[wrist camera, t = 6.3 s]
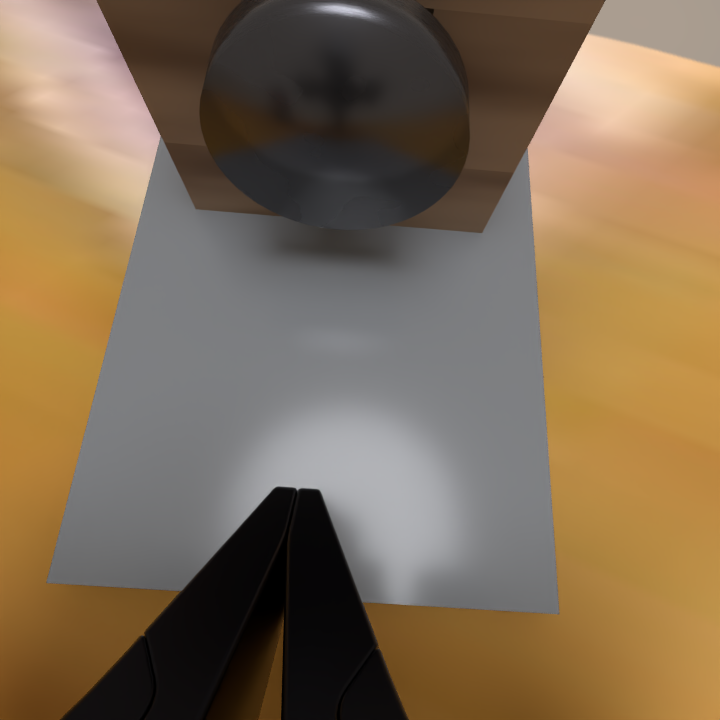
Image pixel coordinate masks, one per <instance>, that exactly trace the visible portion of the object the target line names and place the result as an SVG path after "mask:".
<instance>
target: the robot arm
mask: <svg viewBox="0 0 720 720" xmlns="http://www.w3.org/2000/svg"><path fill="white" fill-rule="evenodd" d="M283 619H284V634H283V670H282V706H281V720H409V719H408V717H407V715H406V712H405V710H404V708H403V706H402V703H401V701H400V698H399V696H398V693H397V691H396V689H395V686H394V684H393V681H392V679H391V676H390V674H389V671H388V669H387V666H386V663H385V661H384V658H383V655H382V653H381V650H380V649H378V643H377V640H376V637H375V635H374V632H373V629H372V627H371V624H370V621H369V619H368V616H367V613H366V611H365V608H364V605H363V603H362V600H361V597H360V595H359V592H358V589H357V587H356V584H355V581H354V579H353V576H352V573H351V571H350V568H349V565H348V563H347V560H346V557H345V555H344V552H343V549H342V547H341V544H340V541H339V539H338V536H337V533H336V531H335V528H334V525H333V523H332V520H331V517H330V515H329V512H328V509H327V507H326V504H325V501H324V499H323V496H322V493H321V491H320V490H319V489H311V488H300V489H299V490H298V491H297V489H296V488H294V487H281V486H278V487H275V488H274V489H273V490H272V491H271V492H270V493H269V494H268V495H267V497H266V498H265V499H264V500H263V501H262V502H261V503H260V504H259V505H258V507H257V508H256V509H255V510H254V511H253V512H252V513H251V514H250V515H249V517H248V518H247V519H246V520H245V521H244V522H243V523H242V524H241V525H240V526H239V528H238V529H237V530H236V531H235V532H234V533H233V534H232V535H231V536H230V538H229V539H228V540H227V541H226V542H225V543H224V544H223V545H222V546H221V548H220V549H219V550H218V551H217V552H216V553H215V554H214V555H213V556H212V557H211V559H210V560H209V561H208V562H207V563H206V564H205V565H204V566H203V567H202V569H201V570H200V571H199V572H198V573H197V574H196V575H195V576H194V577H193V578H192V580H191V581H190V582H189V583H188V584H187V585H186V586H185V587H184V588H183V590H182V591H181V592H180V593H179V594H178V595H177V596H176V597H175V598H174V600H173V601H172V602H171V603H170V604H169V605H168V606H167V607H166V608H165V609H164V611H163V612H162V613H161V614H160V615H159V616H158V617H157V618H156V619H155V621H154V622H153V623H152V624H151V625H150V626H149V627H148V628H147V629H146V631H145V633H144V634H145V636H140V637H139V638H138V639H137V640H136V641H135V642H134V643H133V645H132V646H131V647H130V648H129V649H128V650H127V651H126V652H125V653H124V655H123V656H122V657H121V658H120V659H119V660H118V661H117V662H116V663H115V664H114V665H113V666H112V667H111V668H110V670H109V671H108V672H107V673H106V674H105V675H104V676H103V677H102V678H101V679H100V680H99V681H98V682H97V683H96V684H95V685H94V686H93V688H92V689H91V690H90V691H89V692H88V693H87V694H86V695H85V696H84V697H83V698H82V699H81V700H79V701H78V702H77V703H76V704H75V705H74V706H73V707H72V708H71V709H70V710H69V711H68V712H67V713H66V714H65V715H64V716H63V717H62V718H61V719H60V720H258V718H259V714H260V710H261V706H262V702H263V698H264V694H265V690H266V687H267V683H268V679H269V675H270V671H271V667H272V663H273V659H274V655H275V651H276V647H277V643H278V639H279V635H280V631H281V627H282V623H283Z"/></svg>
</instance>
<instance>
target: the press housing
mask: <svg viewBox="0 0 720 720" xmlns="http://www.w3.org/2000/svg"><path fill="white" fill-rule="evenodd" d="M241 1H242V0H97V2H98V4H99V7H100V9H101V11H102V13H103V15H104V17H105V19H106V21H107V23H108V26H109V28H110V30H111V32H112V34H113V36H114V38H115V40H116V42H117V44H118V47H119V49H120V51H121V53H122V55H123V57H124V59H125V61H126V63H127V65H128V68H129V70H130V72H131V74H132V76H133V78H134V80H135V82H136V84H137V87H138V89H139V91H140V93H141V95H142V97H143V99H144V101H145V103H146V105H147V108H148V110H149V112H150V114H151V116H152V118H153V120H154V122H155V124H156V127H157V129H158V131H159V133H160V135H161V137H162V139H163V141H164V143H165V145H166V148H167V150H168V152H169V154H170V156H171V158H172V160H173V162H174V164H175V167H176V169H177V171H178V173H179V175H180V177H181V179H182V181H183V183H184V185H185V188H186V190H187V192H188V194H189V196H190V198H191V200H192V202H193V204H194V207H195V209H198V210H210V211H222V212H234V213H246V214H258V215H270V216H280V215H278V214H276V213H274V212H272V211H270V210H268V209H266V208H264V207H263V206H261V205H259V204H258V203H256V202H255V201H253V200H252V199H250V198H249V197H247V196H246V195H245V194H244V193H243V192H241V191H240V190H239V189H238V188H236V187H235V185H234V184H233V183H232V182H231V181H230V180H229V179H228V178H227V177H226V176H225V175H224V174H223V172H222V171H221V170H220V169H219V167H218V166H217V164H216V163H215V161H214V159H213V158H212V156H211V154H210V152H209V150H208V148H207V146H206V143H205V141H204V137H203V134H202V130H201V125H200V116H199V109H200V97H201V93H202V88H203V84H204V80H205V75H206V71H207V67H208V62H209V58H210V54H211V50H212V46H213V42H214V40H215V38H216V35H217V33H218V31H219V29H220V27H221V25H222V24H223V22H224V21H225V19H226V18H227V16H228V15H229V14H230V12H231V11H232V10H233V9H234V8H235V7H236V6H237V5H238V4H239V3H240V2H241ZM415 1H417V2H418V3H420V4H421V5H422V6H424V7H425V8H426V9H427V10H428V11H429V12H430V13H431V14H432V15H433V16H434V17H435V18H437V20H438V21H439V22H440V23H441V25H442V26H443V27H444V28H445V30H446V31H447V32H448V33H449V35H450V36H451V38H452V40H453V42H454V43H455V45H456V47H457V48H458V50H459V53H460V55H461V58H462V60H463V63H464V66H465V70H466V74H467V79H468V85H469V111H470V142H469V151H468V155H467V158H466V162H465V165H464V167H463V169H462V171H461V174H460V176H459V177H458V179H457V180H456V182H455V183H454V185H453V186H452V187H451V189H450V190H449V191H448V192H447V193H446V194H445V195H444V196H443V197H442V198H441V199H440V200H439V201H437V202H436V203H435V204H434V205H432V206H431V207H429V208H428V209H426V210H425V211H423V212H421V213H420V214H418V215H416V216H414V217H412V218H409V219H407V220H404V221H402V222H399V223H395V224H392V225H390V226H402V227H414V228H426V229H438V230H450V231H462V232H474V233H482V232H483V230H484V229H485V227H486V225H487V223H488V221H489V219H490V217H491V215H492V213H493V212H494V210H495V208H496V206H497V204H498V202H499V200H500V198H501V196H502V195H503V193H504V191H505V189H506V187H507V185H508V183H509V181H510V179H511V178H512V176H513V174H514V172H515V170H516V168H517V166H518V164H519V162H520V161H521V159H522V157H523V155H524V153H525V151H526V149H527V147H528V145H529V144H530V142H531V140H532V138H533V136H534V134H535V132H536V130H537V128H538V127H539V125H540V123H541V121H542V119H543V117H544V115H545V113H546V111H547V110H548V108H549V106H550V104H551V102H552V100H553V98H554V96H555V94H556V93H557V91H558V89H559V87H560V85H561V83H562V81H563V79H564V77H565V76H566V74H567V72H568V70H569V68H570V66H571V64H572V62H573V60H574V59H575V57H576V55H577V53H578V51H579V49H580V47H581V45H582V43H583V42H584V40H585V38H586V36H587V34H588V32H589V30H590V28H591V26H592V25H593V23H594V21H595V19H596V17H597V15H598V13H599V11H600V9H601V8H602V6H603V4H604V2H605V0H415ZM282 217H283V216H282Z"/></svg>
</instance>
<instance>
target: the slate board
mask: <svg viewBox="0 0 720 720" xmlns="http://www.w3.org/2000/svg"><path fill="white" fill-rule="evenodd" d="M278 486H281V487H294V488H296V489H297V491H298V490H299V489H300V488H311V489H319V490H320V491H321V493H322V496H323V499H324V501H325V504H326V507H327V509H328V512H329V515H330V517H331V520H332V523H333V525H334V528H335V531H336V533H337V536H338V539H339V541H340V544H341V547H342V549H343V552H344V555H345V557H346V560H347V563H348V565H349V568H350V571H351V573H352V576H353V579H354V581H355V584H356V587H357V589H358V592H359V595H360V597H361V600H362V602H367V603H384V604H400V605H417V606H433V607H450V608H466V609H482V610H499V611H515V612H532V613H548V614H559V602H558V588H557V573H556V558H555V544H554V529H553V514H552V500H551V485H550V471H549V456H548V441H547V427H546V412H545V397H544V383H543V368H542V353H541V339H540V324H539V310H538V295H537V280H536V266H535V251H534V236H533V222H532V207H531V192H530V178H529V163H528V149H526V151H525V153H524V155H523V157H522V159H521V161H520V162H519V164H518V166H517V168H516V170H515V172H514V174H513V176H512V178H511V179H510V181H509V183H508V185H507V187H506V189H505V191H504V193H503V195H502V196H501V198H500V200H499V202H498V204H497V206H496V208H495V210H494V212H493V213H492V215H491V217H490V219H489V221H488V223H487V225H486V227H485V229H484V230H483V232H482V233H474V232H462V231H450V230H438V229H426V228H414V227H402V226H390V225H389V226H384V227H379V228H373V229H364V230H336V229H328V228H321V227H316V226H311V225H307V224H303V223H300V222H296V221H293V220H291V219H288V218H285V217H282V216H270V215H258V214H246V213H234V212H222V211H210V210H198V209H195V207H194V204H193V202H192V200H191V198H190V196H189V194H188V192H187V190H186V188H185V185H184V183H183V181H182V179H181V177H180V175H179V173H178V171H177V169H176V167H175V164H174V162H173V160H172V158H171V156H170V154H169V152H168V150H167V148H166V145H165V143H164V141H163V139H162V137H161V138H160V142H159V146H158V149H157V153H156V157H155V161H154V165H153V169H152V173H151V177H150V181H149V185H148V188H147V192H146V196H145V200H144V204H143V208H142V212H141V216H140V220H139V224H138V227H137V231H136V235H135V239H134V243H133V247H132V251H131V255H130V259H129V263H128V266H127V270H126V274H125V278H124V282H123V286H122V290H121V294H120V298H119V302H118V305H117V309H116V313H115V317H114V321H113V325H112V329H111V333H110V337H109V341H108V344H107V348H106V352H105V356H104V360H103V364H102V368H101V372H100V376H99V380H98V383H97V387H96V391H95V395H94V399H93V403H92V407H91V411H90V415H89V419H88V422H87V426H86V430H85V434H84V438H83V442H82V446H81V450H80V454H79V458H78V461H77V465H76V469H75V473H74V477H73V481H72V485H71V489H70V493H69V497H68V500H67V504H66V508H65V512H64V516H63V520H62V524H61V528H60V532H59V536H58V539H57V543H56V547H55V551H54V555H53V559H52V563H51V567H50V571H49V575H48V578H47V582H46V583H56V584H72V585H89V586H105V587H121V588H138V589H154V590H171V591H182V590H183V588H184V587H185V586H186V585H187V584H188V583H189V582H190V581H191V580H192V578H193V577H194V576H195V575H196V574H197V573H198V572H199V571H200V570H201V569H202V567H203V566H204V565H205V564H206V563H207V562H208V561H209V560H210V559H211V557H212V556H213V555H214V554H215V553H216V552H217V551H218V550H219V549H220V548H221V546H222V545H223V544H224V543H225V542H226V541H227V540H228V539H229V538H230V536H231V535H232V534H233V533H234V532H235V531H236V530H237V529H238V528H239V526H240V525H241V524H242V523H243V522H244V521H245V520H246V519H247V518H248V517H249V515H250V514H251V513H252V512H253V511H254V510H255V509H256V508H257V507H258V505H259V504H260V503H261V502H262V501H263V500H264V499H265V498H266V497H267V495H268V494H269V493H270V492H271V491H272V490H273V489H274V488H275V487H278Z"/></svg>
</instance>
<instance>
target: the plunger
mask: <svg viewBox="0 0 720 720" xmlns="http://www.w3.org/2000/svg"><path fill="white" fill-rule="evenodd" d="M199 116H200V125H201V130H202V134H203V137H204V141H205V143H206V146H207V148H208V150H209V152H210V154H211V156H212V158H213V159H214V161H215V163H216V164H217V166H218V167H219V169H220V170H221V171H222V172H223V174H224V175H225V176H226V177H227V178H228V179H229V180H230V181H231V182H232V183H233V184H234V185H235V187H236V188H238V189H239V190H240V191H241V192H243V193H244V194H245V195H246V196H247V197H249V198H250V199H252V200H253V201H255V202H256V203H258V204H259V205H261V206H263V207H264V208H266V209H268V210H270V211H272V212H274V213H276V214H278V215H280V216H283V217H285V218H288V219H291V220H293V221H296V222H300V223H303V224H307V225H311V226H316V227H321V228H328V229H336V230H364V229H373V228H379V227H384V226H389V225H392V224H395V223H399V222H402V221H404V220H407V219H409V218H412V217H414V216H416V215H418V214H420V213H421V212H423V211H425V210H426V209H428V208H429V207H431V206H432V205H434V204H435V203H436V202H437V201H439V200H440V199H441V198H442V197H443V196H444V195H445V194H446V193H447V192H448V191H449V190H450V189H451V187H452V186H453V185H454V183H455V182H456V180H457V179H458V177H459V176H460V174H461V171H462V169H463V167H464V165H465V162H466V158H467V155H468V151H469V142H470V111H469V85H468V79H467V74H466V70H465V66H464V63H463V60H462V58H461V55H460V53H459V50H458V48H457V47H456V45H455V43H454V42H453V40H452V38H451V36H450V35H449V33H448V32H447V31H446V30H445V28H444V27H443V26H442V25H441V23H440V22H439V21H438V20H437V18H435V17H434V16H433V15H432V14H431V13H430V12H429V11H428V10H427V9H426V8H425V7H424V6H422V5H421V4H420V3H418V2H417V1H415V0H242V1H241V2H240V3H239V4H238V5H237V6H236V7H235V8H234V9H233V10H232V11H231V12H230V14H229V15H228V16H227V18H226V19H225V21H224V22H223V24H222V25H221V27H220V29H219V31H218V33H217V35H216V38H215V40H214V42H213V46H212V50H211V54H210V58H209V62H208V67H207V71H206V75H205V80H204V84H203V88H202V93H201V97H200V109H199Z"/></svg>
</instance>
